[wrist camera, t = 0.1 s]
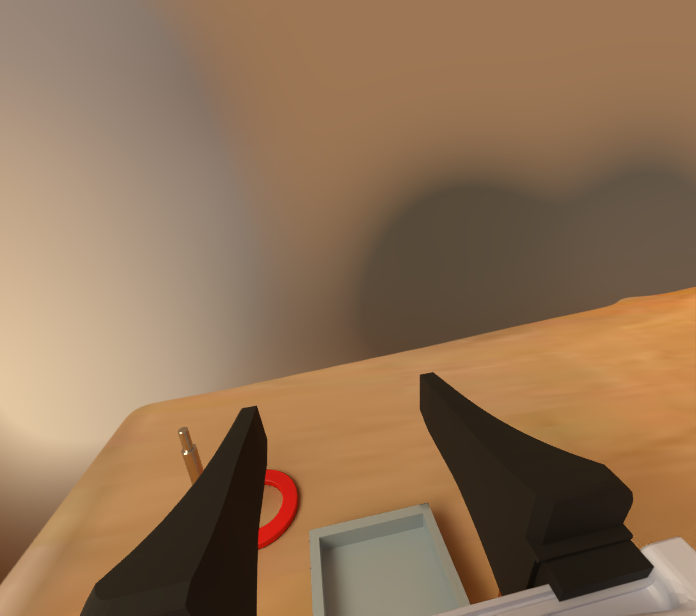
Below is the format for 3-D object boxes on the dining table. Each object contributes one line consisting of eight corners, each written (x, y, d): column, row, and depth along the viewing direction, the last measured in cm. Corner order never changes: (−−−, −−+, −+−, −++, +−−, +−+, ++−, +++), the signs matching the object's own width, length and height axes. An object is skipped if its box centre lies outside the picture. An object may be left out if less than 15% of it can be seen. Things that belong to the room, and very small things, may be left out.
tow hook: (285, 465, 38) (203, 501, 34) (269, 375, 34) (172, 405, 30) (310, 526, 31) (210, 579, 27) (294, 422, 26) (171, 470, 23)
